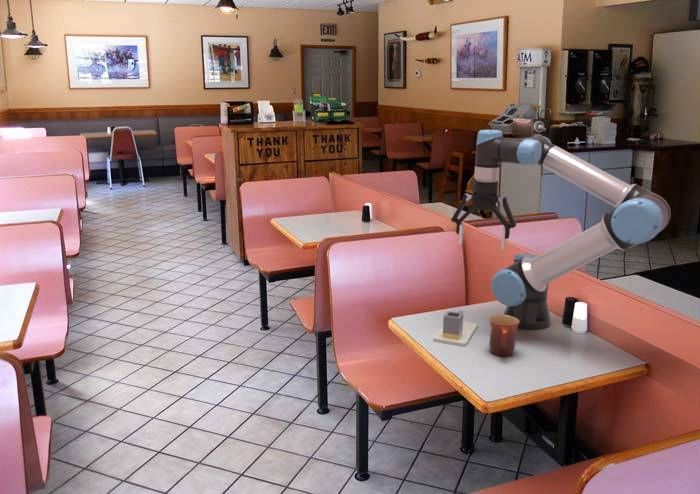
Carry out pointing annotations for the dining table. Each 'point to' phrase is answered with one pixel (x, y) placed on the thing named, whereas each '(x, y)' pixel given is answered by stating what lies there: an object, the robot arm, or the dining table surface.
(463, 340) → the pin board
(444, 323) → the sleeve
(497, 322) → the mug
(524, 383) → the dining table surface
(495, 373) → the dining table surface
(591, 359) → the dining table surface
